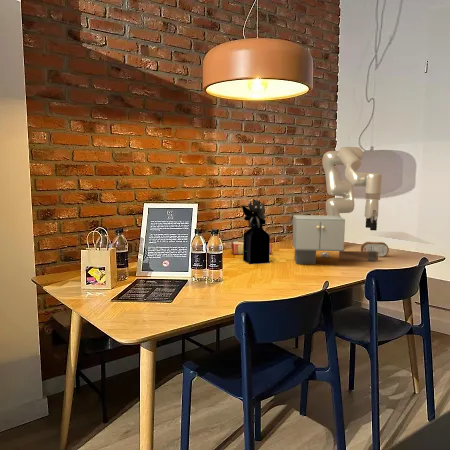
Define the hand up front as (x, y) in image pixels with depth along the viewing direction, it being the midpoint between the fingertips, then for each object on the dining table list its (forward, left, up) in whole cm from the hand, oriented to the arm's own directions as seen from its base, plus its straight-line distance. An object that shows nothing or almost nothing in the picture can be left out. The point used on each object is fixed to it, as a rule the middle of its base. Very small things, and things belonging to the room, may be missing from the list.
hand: (370, 228), depth 230 cm
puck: (-8, -22, -18) cm, 29 cm away
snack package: (-13, -63, -18) cm, 67 cm away
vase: (+9, -61, -18) cm, 64 cm away
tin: (-13, +6, -18) cm, 23 cm away
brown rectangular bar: (0, -6, -17) cm, 18 cm away
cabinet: (+7, -29, -17) cm, 35 cm away
